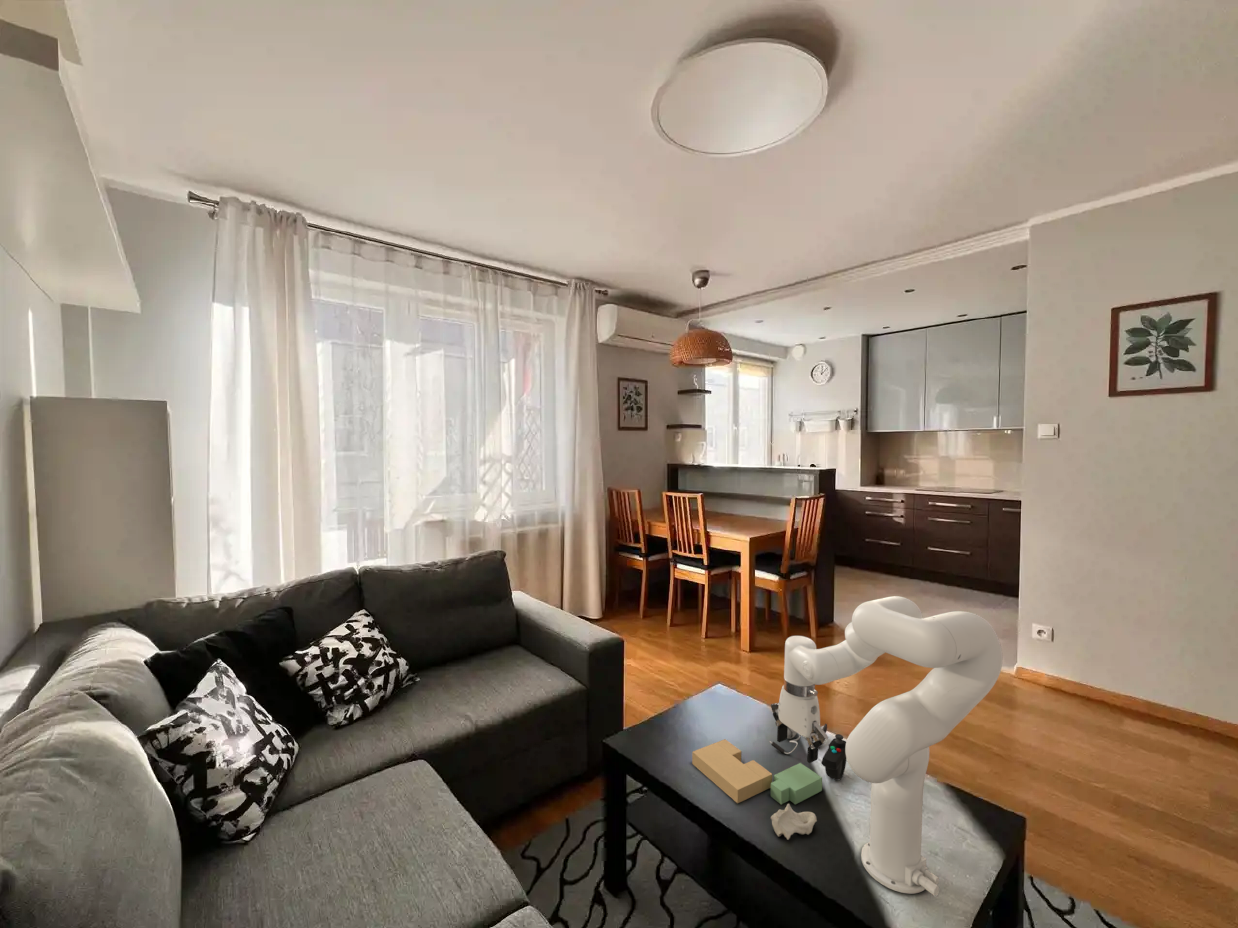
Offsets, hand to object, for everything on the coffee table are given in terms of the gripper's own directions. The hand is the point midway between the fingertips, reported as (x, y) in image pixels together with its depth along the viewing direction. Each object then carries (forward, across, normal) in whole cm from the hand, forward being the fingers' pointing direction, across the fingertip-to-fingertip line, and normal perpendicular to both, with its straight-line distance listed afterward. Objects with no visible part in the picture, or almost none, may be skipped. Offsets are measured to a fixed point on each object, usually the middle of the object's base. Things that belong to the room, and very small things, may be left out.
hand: (796, 750), depth 133 cm
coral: (+10, -10, +12) cm, 19 cm away
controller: (+10, -3, -12) cm, 16 cm away
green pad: (+10, -1, +1) cm, 10 cm away
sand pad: (+10, +12, +11) cm, 19 cm away
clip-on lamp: (+11, +13, -16) cm, 23 cm away
